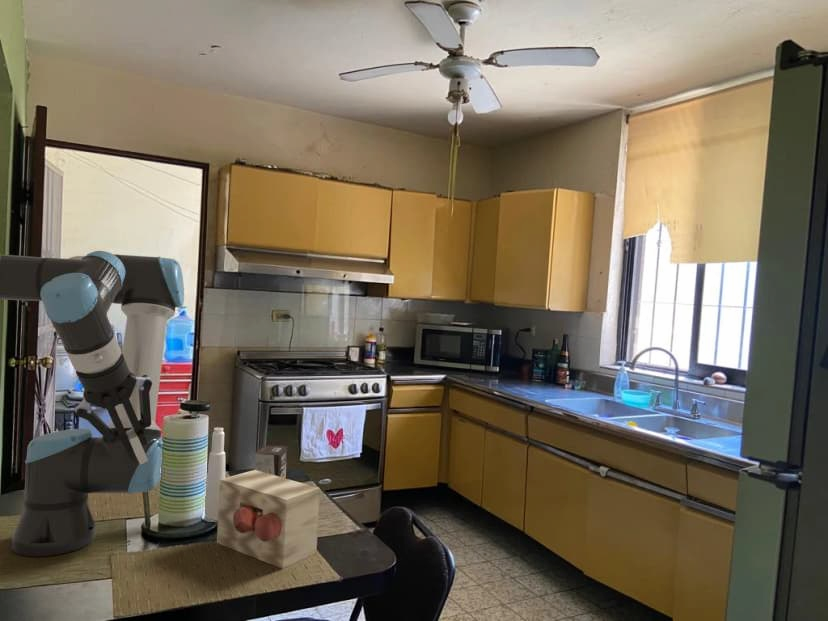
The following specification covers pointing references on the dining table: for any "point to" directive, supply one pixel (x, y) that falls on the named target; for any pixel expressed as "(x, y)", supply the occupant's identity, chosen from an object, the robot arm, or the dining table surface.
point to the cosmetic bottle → (215, 474)
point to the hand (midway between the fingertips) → (142, 458)
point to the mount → (270, 517)
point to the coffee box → (271, 460)
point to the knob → (246, 518)
